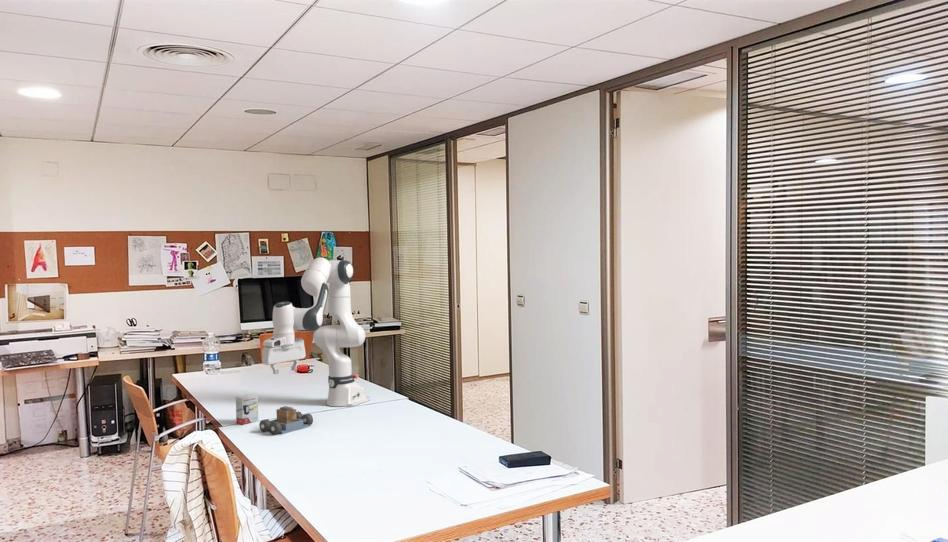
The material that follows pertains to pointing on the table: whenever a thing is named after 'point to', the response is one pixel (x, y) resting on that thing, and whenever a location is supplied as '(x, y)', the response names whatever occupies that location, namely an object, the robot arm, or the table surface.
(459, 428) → the table surface
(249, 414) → the ink box
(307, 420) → the chassis
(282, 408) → the brown box
